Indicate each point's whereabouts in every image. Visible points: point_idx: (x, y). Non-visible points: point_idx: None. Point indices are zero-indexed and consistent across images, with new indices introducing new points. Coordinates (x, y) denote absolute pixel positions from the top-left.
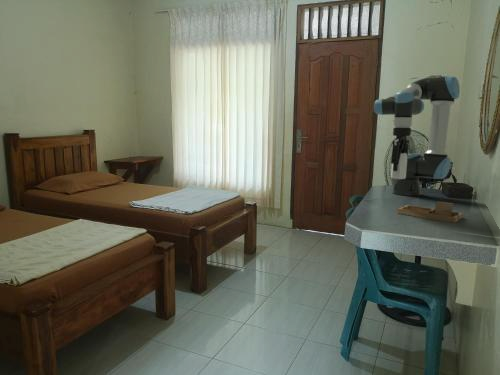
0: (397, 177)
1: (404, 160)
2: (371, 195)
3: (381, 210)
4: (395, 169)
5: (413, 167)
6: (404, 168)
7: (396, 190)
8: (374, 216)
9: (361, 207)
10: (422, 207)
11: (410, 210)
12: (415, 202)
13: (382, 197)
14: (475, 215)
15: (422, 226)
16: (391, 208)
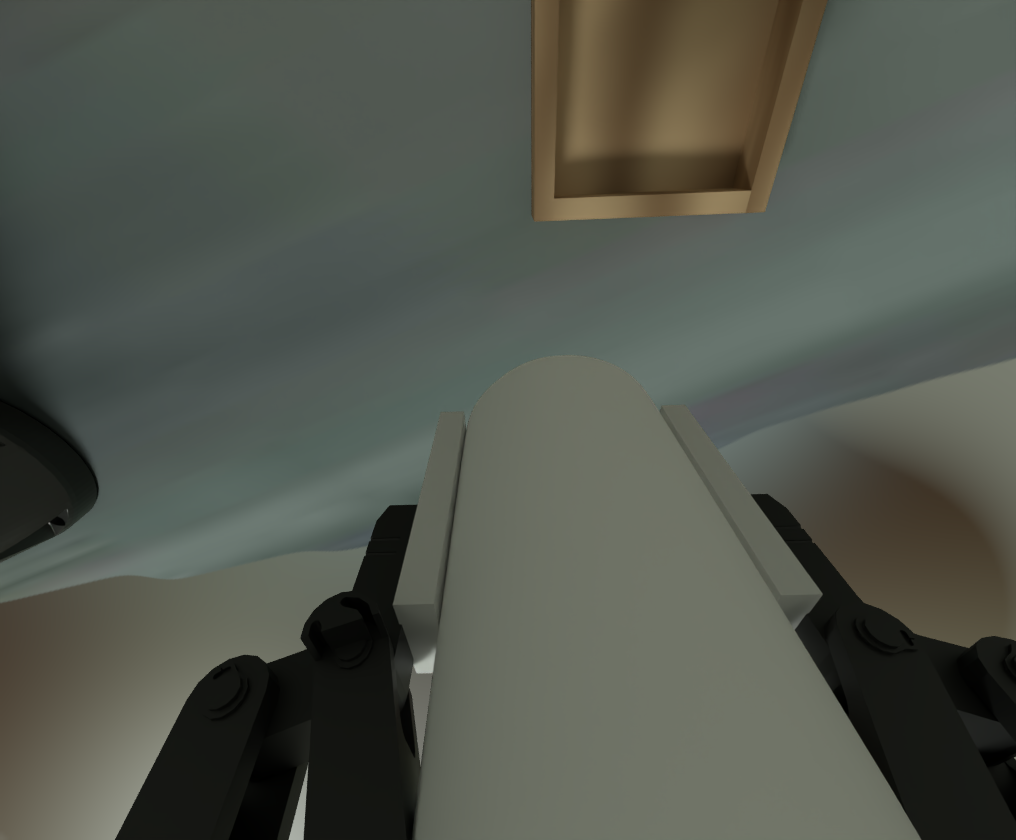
0: (688, 419)
1: (779, 658)
2: (284, 544)
3: (657, 346)
4: (789, 526)
5: None
6: (660, 459)
7: (73, 505)
8: (876, 299)
9: None
10: (557, 39)
11: (789, 79)
12: (182, 296)
13: (272, 494)
14: None
15: None
16: (547, 328)
